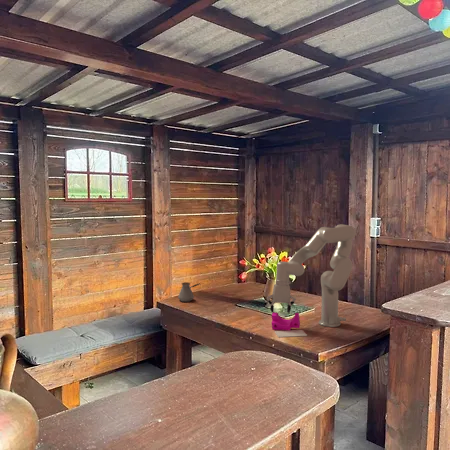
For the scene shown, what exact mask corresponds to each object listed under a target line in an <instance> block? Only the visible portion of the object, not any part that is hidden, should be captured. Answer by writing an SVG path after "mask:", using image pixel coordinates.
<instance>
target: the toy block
mask: <svg viewBox="0 0 450 450" xmlns="http://www.w3.org/2000/svg"><path fill="white" fill-rule="evenodd" d="M300 326H301V319H300V313H299V312H295V313H294V316H293V317H292V318H290V319H287V318H282V317H281V315H279V313H278V312H277V311H276V312H275V311H273V312H271V330H274V331H290V330H291V329H300Z"/></svg>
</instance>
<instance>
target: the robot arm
mask: <svg viewBox="0 0 450 450" xmlns="http://www.w3.org/2000/svg"><path fill="white" fill-rule="evenodd" d="M356 233H357V232H356V229H355V228H354V227H353V226H352V225H349V224H341V223H340V224H337V225H336V226H335V227H327V226H322V227H319V228H318V229H317V231H315V233H314V234H313V235H312V237H311V238H310V239H309V240H308V241H307V243H306V244H305V245H304V246H303V247H301V248H300V249H299V250H297V251H296V252H295V253H294V254H293V255H292V257H291V258H290V259H289V260H288V261H278V262H277V264H276V277H275V278H276V279H275V283H274V285H273V287H272V288H273V289H272V293H271V295H268V296H266V300H267V302H268V303H269V306H270V307H269V308H270V311H271V313H273V312H274V311H275V309H274V307H275V306H274V304H275V303H277V304H279V303H281V304H287V307H286V311H287V313H288V314H290V312H291V310H292V309H291V308H292V305H294V304H295V302H296V300H297V298H296V297H294V296H292V295H291V284H292V281H290V276H296V277H301V276H302V275H303V274H304V273H305V266H304V265H303V263H305V261H307V260H308V259H310V258H312V257H315V256H317V255H318V254H319V253H320V251H322V249H323V248H324V247H325V246H326V244H328V243H329V244H331V243H332V244H334V243H337V244H336V247H335V250H334V252H333V254H332V256H331V259H330V261H329V266H330V268H331V269H333V271H332V270H326V271H323V273H322V274H321V276H320V285H321V314H320V315H321V319H319V320H318V324H319V325H320V326H323V327H328V328H337V327H340V326H341V322H346V321H347V318H346V317H342V316H339V291H341V290H342V289H344V287H345V285H346V283H347V282H348V279H349V277H350V275H351V272H352V270H353V262H352V260H351V258H350V255H351V252H352V249H353V239H354V238H355V237H356ZM270 299H271V300H270ZM291 299H292V300H291Z"/></svg>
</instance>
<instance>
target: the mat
mask: <svg viewBox="0 0 450 450" xmlns="http://www.w3.org/2000/svg"><path fill="white" fill-rule="evenodd" d="M274 333H275V335H276V336H277V338H293V337H294V338H295V337H297V338H298V337H299V338H300V337H308V334H307V333H306V332H305V331H304V330H303V329H296V330H295V329H294V330H274Z"/></svg>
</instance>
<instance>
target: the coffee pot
mask: <svg viewBox="0 0 450 450" xmlns="http://www.w3.org/2000/svg"><path fill="white" fill-rule="evenodd" d="M181 285H182V286H181V288H180V291H179V293H178V299H179V301H180V302H183V303H187V302H192V300H194V298H195V295H194V293H193V291H192V288H195V287H197V286H200V285H201V283H196V284H192V285H191V282H189V281H188V282H186V281H185V282H181ZM190 285H191V286H190Z"/></svg>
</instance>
